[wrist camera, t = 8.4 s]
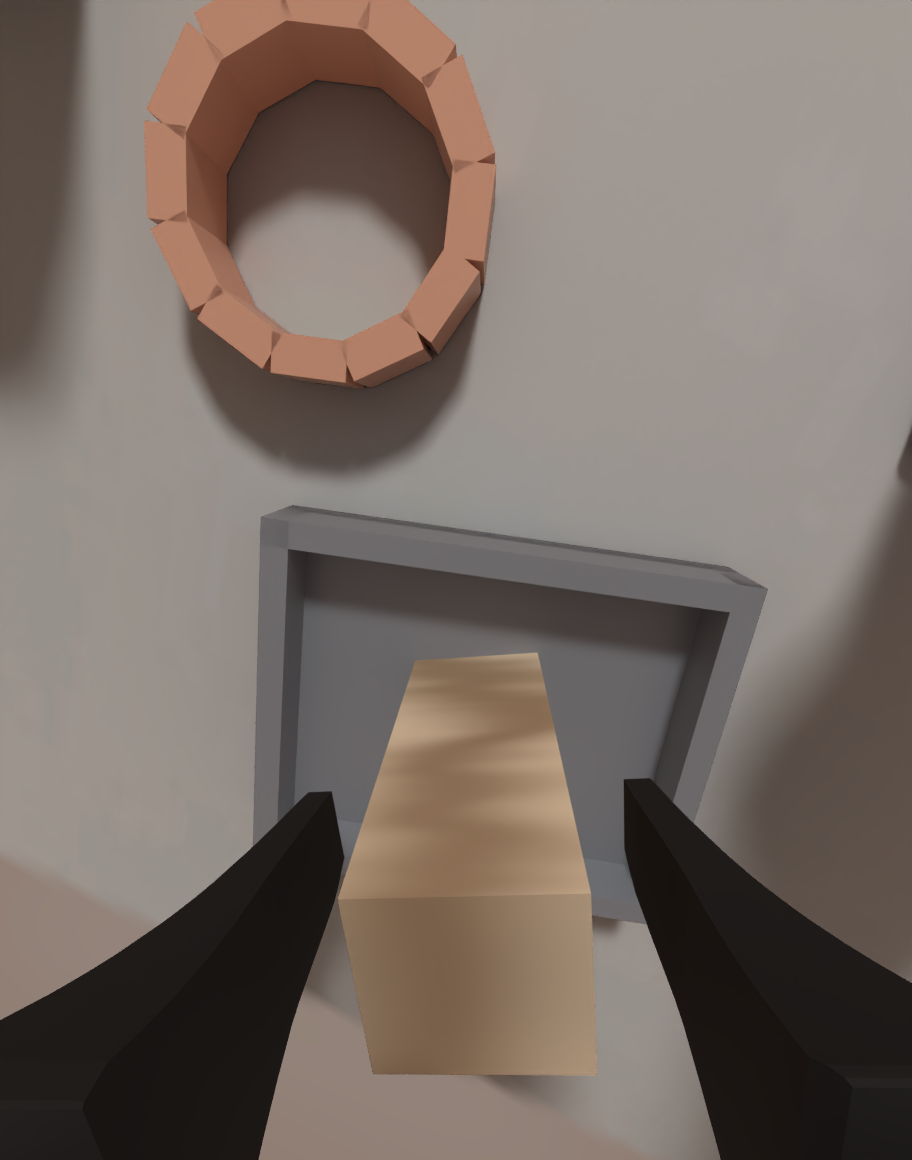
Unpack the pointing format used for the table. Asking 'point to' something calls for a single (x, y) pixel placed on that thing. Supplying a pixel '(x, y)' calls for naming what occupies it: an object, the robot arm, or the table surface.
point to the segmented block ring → (222, 122)
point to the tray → (486, 628)
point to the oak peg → (472, 884)
